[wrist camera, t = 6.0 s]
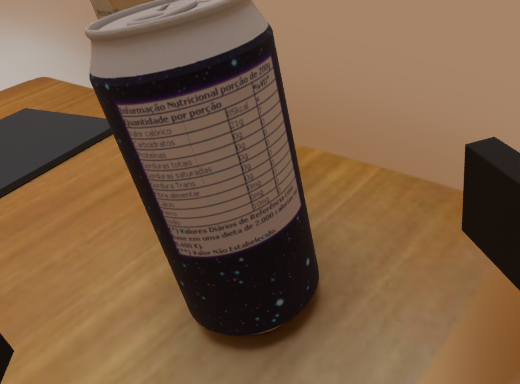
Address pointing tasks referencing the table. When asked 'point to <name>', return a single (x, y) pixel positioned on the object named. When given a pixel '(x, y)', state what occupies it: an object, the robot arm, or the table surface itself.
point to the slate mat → (43, 143)
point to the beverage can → (210, 155)
